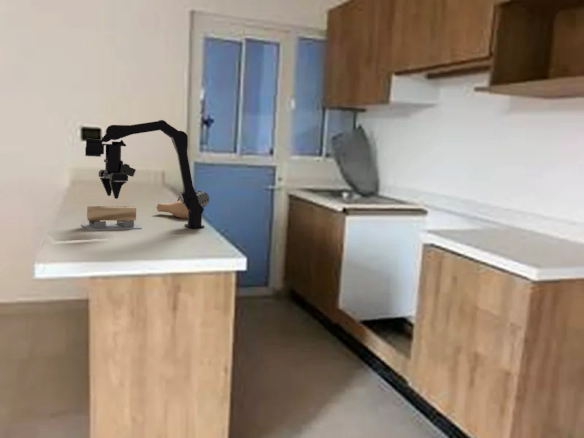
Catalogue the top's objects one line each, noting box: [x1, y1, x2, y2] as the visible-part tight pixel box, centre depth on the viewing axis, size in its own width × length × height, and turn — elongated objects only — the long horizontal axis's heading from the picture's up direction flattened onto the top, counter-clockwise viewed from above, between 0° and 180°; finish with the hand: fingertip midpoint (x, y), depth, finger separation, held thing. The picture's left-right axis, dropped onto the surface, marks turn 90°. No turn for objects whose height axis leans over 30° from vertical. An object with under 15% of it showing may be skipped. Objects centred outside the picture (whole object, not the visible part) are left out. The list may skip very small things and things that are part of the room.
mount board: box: [80, 220, 143, 232], centre depth 216 cm, size 13×20×3 cm, turn 125°
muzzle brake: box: [176, 189, 210, 208], centre depth 269 cm, size 10×28×10 cm, turn 174°
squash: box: [156, 201, 188, 219], centre depth 250 cm, size 11×20×9 cm, turn 75°
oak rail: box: [86, 205, 137, 222], centre depth 216 cm, size 4×18×5 cm, turn 114°
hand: (112, 197), depth 215 cm, fingers open, 9 cm apart
